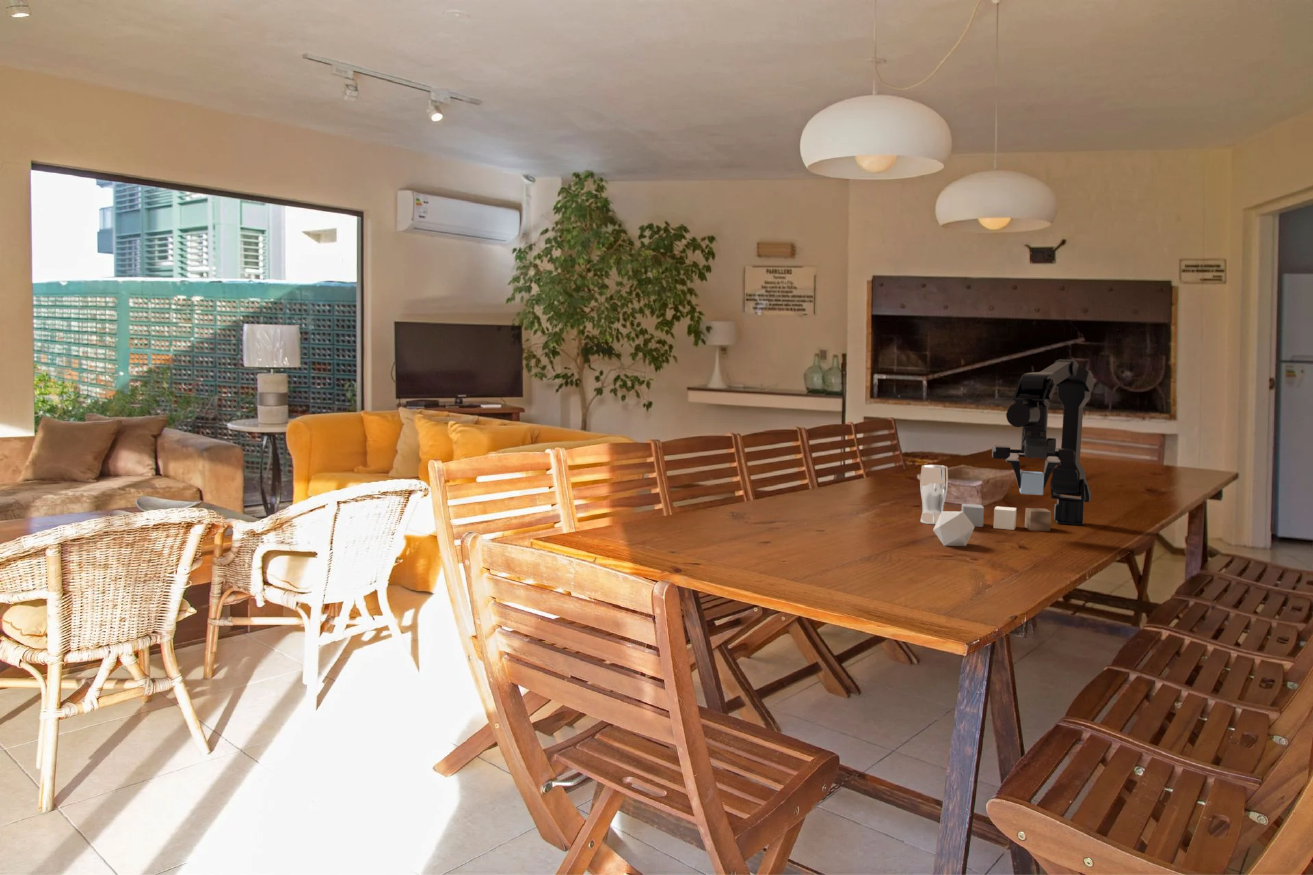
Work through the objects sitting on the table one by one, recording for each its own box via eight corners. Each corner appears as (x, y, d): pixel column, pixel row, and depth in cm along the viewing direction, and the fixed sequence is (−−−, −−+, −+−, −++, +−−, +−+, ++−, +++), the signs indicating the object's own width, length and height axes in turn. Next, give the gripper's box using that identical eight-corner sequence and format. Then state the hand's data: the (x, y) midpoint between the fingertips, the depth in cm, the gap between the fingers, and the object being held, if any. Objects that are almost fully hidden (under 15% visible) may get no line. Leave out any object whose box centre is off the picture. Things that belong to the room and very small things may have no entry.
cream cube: (1015, 526, 247) (1016, 507, 246) (1013, 530, 242) (1014, 510, 242) (995, 525, 249) (996, 506, 248) (993, 528, 244) (994, 509, 244)
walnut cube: (1044, 527, 246) (1045, 508, 246) (1050, 531, 241) (1051, 511, 241) (1024, 526, 247) (1025, 507, 246) (1029, 530, 242) (1030, 511, 241)
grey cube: (980, 523, 251) (981, 504, 250) (983, 527, 246) (984, 508, 245) (960, 522, 252) (961, 504, 251) (962, 526, 247) (963, 507, 246)
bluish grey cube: (1040, 492, 234) (1042, 472, 234) (1042, 495, 229) (1044, 474, 229) (1019, 490, 236) (1020, 470, 235) (1020, 493, 231) (1021, 473, 230)
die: (966, 553, 217) (985, 517, 219) (933, 533, 218) (952, 498, 220) (954, 558, 224) (973, 524, 227) (922, 538, 226) (941, 505, 228)
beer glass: (949, 525, 247) (951, 468, 246) (922, 524, 247) (924, 467, 246) (941, 520, 254) (944, 464, 253) (915, 519, 254) (917, 464, 253)
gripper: (995, 426, 226) (992, 491, 227) (1080, 429, 221) (1076, 495, 222) (993, 422, 237) (990, 484, 238) (1074, 425, 231) (1070, 489, 233)
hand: (1031, 488), depth 232 cm, fingers closed on bluish grey cube, 5 cm apart
